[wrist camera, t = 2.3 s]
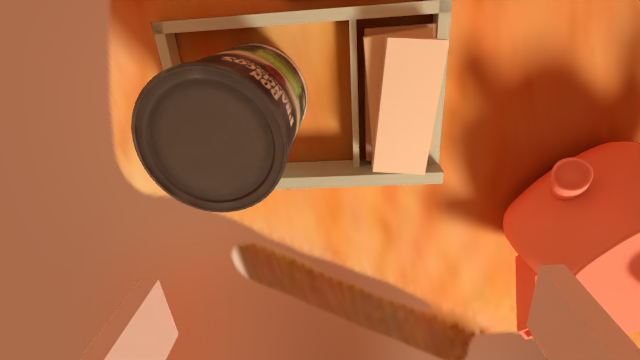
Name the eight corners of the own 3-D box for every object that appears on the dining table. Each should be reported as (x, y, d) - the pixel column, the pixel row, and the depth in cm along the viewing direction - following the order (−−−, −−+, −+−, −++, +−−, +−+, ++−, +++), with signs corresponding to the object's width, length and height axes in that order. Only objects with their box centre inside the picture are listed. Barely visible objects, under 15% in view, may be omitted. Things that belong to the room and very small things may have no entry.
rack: (161, 21, 33) (130, 23, 28) (445, -1, 31) (464, -3, 26) (198, 175, 40) (179, 198, 35) (433, 166, 38) (445, 189, 33)
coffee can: (250, 17, 32) (190, 23, 20) (328, 98, 35) (320, 148, 22) (186, 95, 36) (100, 143, 23) (261, 163, 39) (222, 238, 26)
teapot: (700, 122, 34) (905, 187, 22) (630, 271, 42) (751, 381, 30) (506, 122, 35) (595, 184, 23) (474, 268, 43) (527, 372, 31)
